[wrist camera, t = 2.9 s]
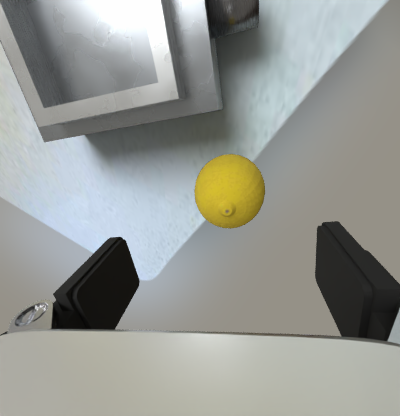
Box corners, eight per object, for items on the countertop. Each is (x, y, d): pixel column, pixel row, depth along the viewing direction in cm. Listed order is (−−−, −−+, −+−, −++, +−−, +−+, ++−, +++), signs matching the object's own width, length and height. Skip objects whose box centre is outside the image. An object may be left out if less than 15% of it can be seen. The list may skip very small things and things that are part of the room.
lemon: (230, 212, 23) (226, 260, 16) (191, 175, 22) (168, 209, 15) (272, 175, 21) (290, 212, 13) (231, 133, 20) (226, 149, 12)
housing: (247, -110, 14) (253, -295, 7) (259, 102, 18) (269, 100, 12) (26, -24, 17) (-95, -97, 11) (84, 134, 22) (22, 146, 16)
